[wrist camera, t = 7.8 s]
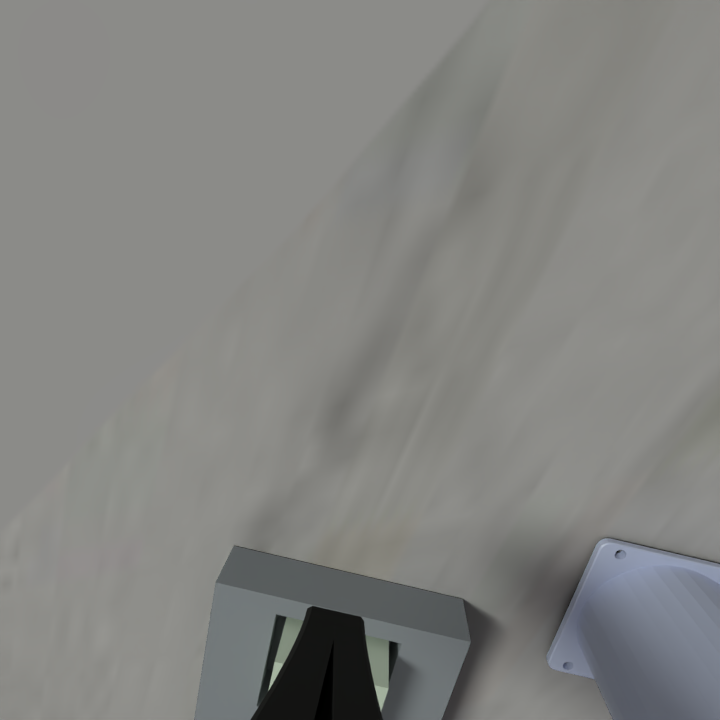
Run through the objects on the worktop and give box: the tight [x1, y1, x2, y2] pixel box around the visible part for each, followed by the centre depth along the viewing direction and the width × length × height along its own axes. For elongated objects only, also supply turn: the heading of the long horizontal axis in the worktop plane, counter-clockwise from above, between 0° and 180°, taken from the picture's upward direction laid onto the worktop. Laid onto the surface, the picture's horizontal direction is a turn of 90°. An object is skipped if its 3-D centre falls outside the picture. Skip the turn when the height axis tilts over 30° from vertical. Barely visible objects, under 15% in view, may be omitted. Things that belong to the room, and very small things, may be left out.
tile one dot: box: [268, 617, 389, 710], centre depth 22 cm, size 5×5×4 cm
